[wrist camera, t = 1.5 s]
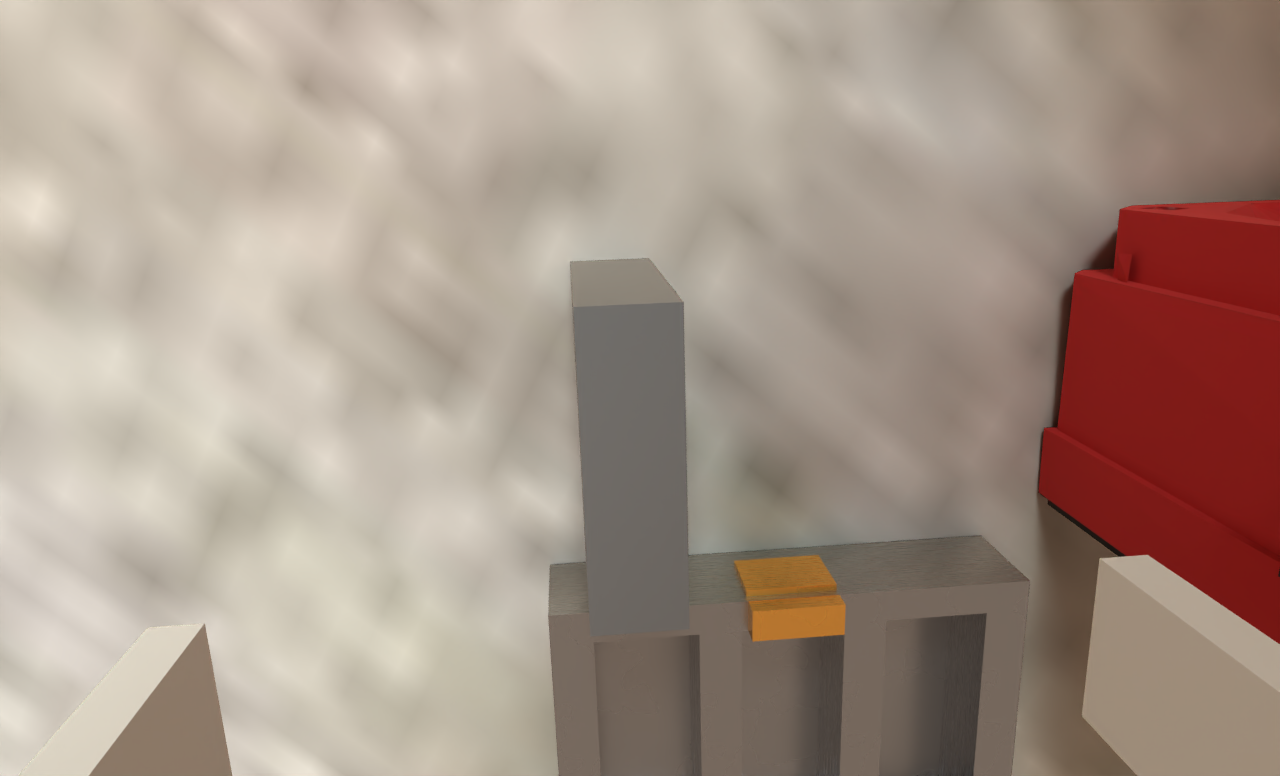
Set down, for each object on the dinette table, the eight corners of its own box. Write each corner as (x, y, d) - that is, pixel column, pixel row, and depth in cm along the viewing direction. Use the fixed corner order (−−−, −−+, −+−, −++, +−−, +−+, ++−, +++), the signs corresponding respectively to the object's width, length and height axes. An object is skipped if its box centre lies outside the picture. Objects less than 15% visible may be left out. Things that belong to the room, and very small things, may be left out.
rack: (549, 559, 29) (547, 620, 25) (981, 530, 30) (1040, 584, 26) (569, 860, 32) (570, 954, 28) (958, 824, 33) (1008, 910, 30)
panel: (570, 261, 26) (573, 307, 19) (648, 258, 27) (683, 302, 19) (583, 505, 29) (590, 636, 21) (656, 500, 29) (689, 629, 21)
